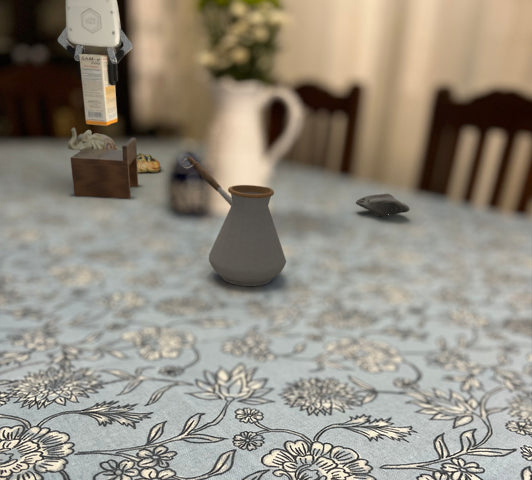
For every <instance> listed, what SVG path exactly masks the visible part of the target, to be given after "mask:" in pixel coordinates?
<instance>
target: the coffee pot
mask: <svg viewBox="0 0 532 480" xmlns="http://www.w3.org/2000/svg"><path fill="white" fill-rule="evenodd" d="M185 161H188V163H189V164H190V166H184V163H185ZM181 166H182V167H183V168H184V169H191V168H192V169H193V170H195V171H197V173H198V174H199V175H200V177H201V178H202V179H203V180H204V181H205V182H206V183H207V184H208V185H210V186H211V187H212V188H213V189H214V190H215V191H216V192H217V193H218V194H219V195H220V196H221V197H222V198H223V199H224V201H226V202H227V203H228V205H229V206H230V208H229V210H228V212H227V214H226V216H225V219H224V221H223V223H222V225H221V228H220V230H219V232H218V234H217V236H216V239H215V240H214V243H213V245H212V247H211V250H210V252H209V253H208V261H209V262H208V263H209V264H210V266H211V267H212V269H213V270H214V272H216V273H217V275H219V276H220V278H222V280H223V281H225V282H227V283H229V284H232V285H236V286H242V287H257V286H258V287H259V286H264V285H267V284H269V283H270V282H272V280H273V279H275V278H276V277H278V276H279V275H280V274H281V273H282V272H283V270H284V268H285V266H286V264H287V260H286V256H285V253H284V250H283V246H282V244H281V241H280V238H279V234H278V232H277V229H276V225H275V223H274V220H273V216H272V214H271V210H270V207H269V204H270V201H271V197H272V196H274V195H275V191H274V190H273V189H272V188H271V187H268V186H261V185H253V184H236V185H232V186H229V187H228V189H227V192H226V191H225V190H224V189H223V187H222V186H221V185H220V184H219V183H218V181H217V180H216V179H215V178H214V176H212V175H211V173H210V172H209V171H208V170H207V169H205V168H204V167H202V166H201V164H200V162H199V161H196V160H195V158H193V157H192V156H191V155H187V157H186V158H184V159H183V160H182V162H181ZM228 193H229V194H228Z"/></svg>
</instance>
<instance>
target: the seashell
mask: <svg viewBox="0 0 532 480" xmlns="http://www.w3.org/2000/svg"><path fill="white" fill-rule="evenodd" d="M355 204H356V205H357V206H359V207H361V208H363V209H364V210H368V211H370V212H371V213H373V214H374V215H375V216H377V217H379V218H387V217H390V216H393V215H398V214H403V213H404V214H405V213H408V212H409V211H410V210H411V209H410V206H409V205H407V204H405V202H404V203H403V202H401V201H400V200H398V199H396V198H395V197H394V196H393V195H392V194H391V193H380V194H370V195H366V196H363V197H361V198H359V199H357V200H356V201H355ZM388 214H389V215H388Z"/></svg>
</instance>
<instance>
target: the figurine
mask: <svg viewBox="0 0 532 480" xmlns="http://www.w3.org/2000/svg"><path fill="white" fill-rule="evenodd" d="M70 131H71V134H72V136H71V138H70V139H69V140H68V141H67V149H68V150H72V151H79V152H80V151H82V150H83V149H85V148H91V149H107V150H119V149H118V147H117V145H116V143H115V141H114V140H113V138H111V137H110V136H108V135H106V134H104V133H97V132H96V133H92V130H91V129H87V130H86V131H85V132H83V133H80V134H78V133H77V129H76V128H75V127H72V128H71V129H70Z"/></svg>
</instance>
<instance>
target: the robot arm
mask: <svg viewBox="0 0 532 480" xmlns="http://www.w3.org/2000/svg"><path fill="white" fill-rule="evenodd" d="M57 42H58V43H59V44H60V45H61V46H62V47H63V48H64V49H65V50H66V51H67V52H68V53H69V55H71V56H72V58H73V59H74V60H75V61H76V69H77V77H78V79H80V82H81V84H82V77H81V67H80V57H79V54H86V47H87V46H88V47H90V46H91V47H99V48H100V47H101V48H106V51H107V54H108V56H109V57H110V64H109V80H110V85H112V86H114V85H115V86H116V85H117V82H119V70H118V64H119V63H120V61H121V60H122V59H123V58H125V56H126V55H127V54H128V53H129V52H130V51H132V50H133V48H134V45H133V43H132V42H131V40H129V38H128V37H127V35H126V34H125V32H124V31H123V29H122V28H121V19H120V12H119V5H118V0H65V27H64V28H63V30H62V32H61V33H60V35H59V36H58V38H57ZM71 43H72V44H74V45H76V47H74V46H73V45H72V44H71ZM122 44H123V46H122V47H121V48H120V49H118V51H117V50H116V48H118V47H120V46H121V45H122Z"/></svg>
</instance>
